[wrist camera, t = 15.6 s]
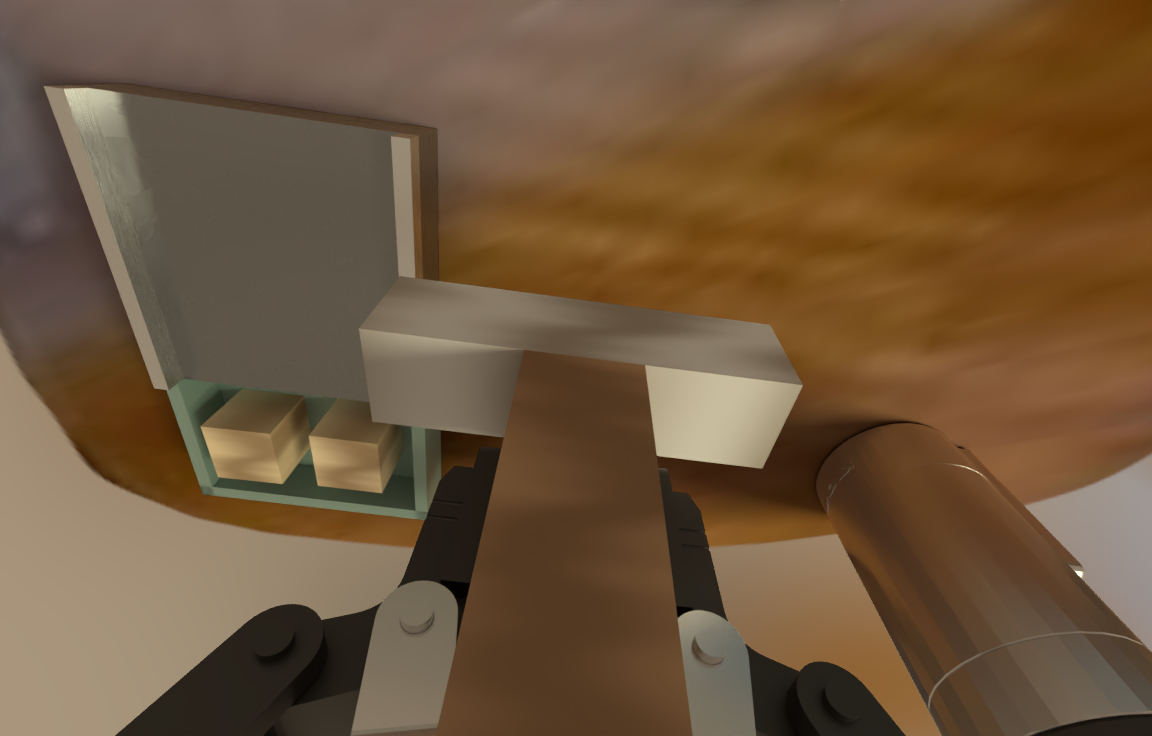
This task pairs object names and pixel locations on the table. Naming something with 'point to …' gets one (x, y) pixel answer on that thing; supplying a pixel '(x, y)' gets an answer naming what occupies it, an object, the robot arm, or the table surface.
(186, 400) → the chip tray
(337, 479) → the maple cube
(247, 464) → the maple cube
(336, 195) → the open box
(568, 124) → the table surface
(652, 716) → the rake tool
